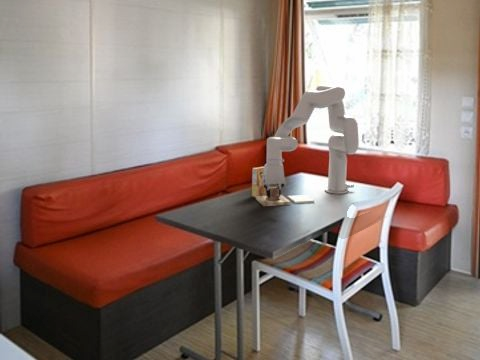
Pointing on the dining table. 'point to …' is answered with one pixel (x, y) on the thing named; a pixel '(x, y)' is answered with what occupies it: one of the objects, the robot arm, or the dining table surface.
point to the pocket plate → (281, 201)
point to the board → (300, 199)
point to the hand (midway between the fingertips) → (273, 196)
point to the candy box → (258, 182)
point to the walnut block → (274, 194)
